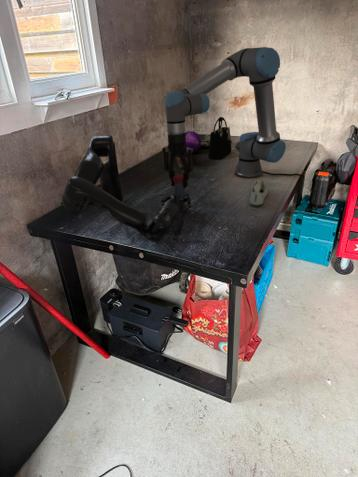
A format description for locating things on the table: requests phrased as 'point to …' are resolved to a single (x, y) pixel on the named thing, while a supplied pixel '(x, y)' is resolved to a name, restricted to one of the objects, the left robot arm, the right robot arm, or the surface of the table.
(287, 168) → the table surface
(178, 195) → the jar
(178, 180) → the lid
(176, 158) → the boot
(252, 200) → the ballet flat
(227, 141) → the handbag
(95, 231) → the table surface
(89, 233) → the table surface
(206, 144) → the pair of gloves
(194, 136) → the decorative orb
